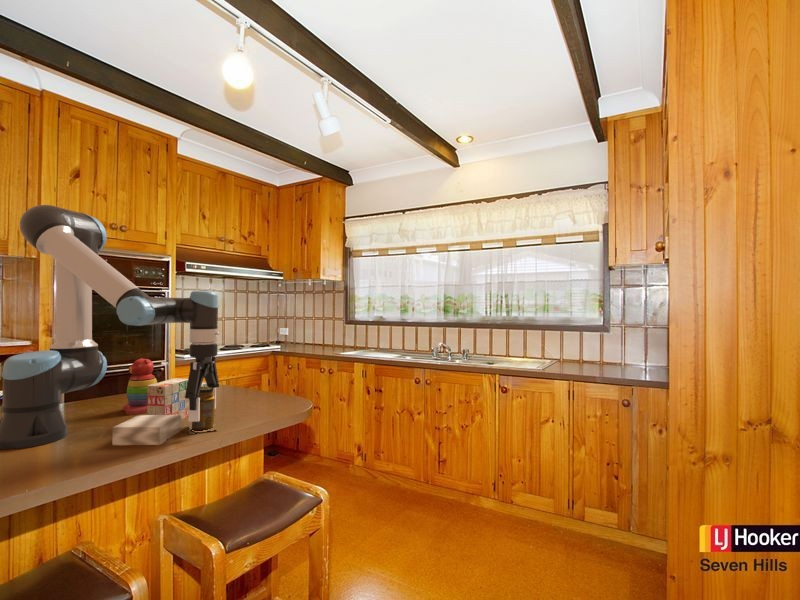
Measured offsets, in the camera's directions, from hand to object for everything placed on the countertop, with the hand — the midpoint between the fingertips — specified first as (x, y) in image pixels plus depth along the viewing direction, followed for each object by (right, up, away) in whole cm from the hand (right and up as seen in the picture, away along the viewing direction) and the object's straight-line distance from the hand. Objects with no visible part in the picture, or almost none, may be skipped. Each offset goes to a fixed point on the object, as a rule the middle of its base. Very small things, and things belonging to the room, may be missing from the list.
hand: (202, 414), depth 125 cm
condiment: (0, -4, 0) cm, 4 cm away
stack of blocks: (-14, -4, +14) cm, 20 cm away
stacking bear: (-31, -4, +21) cm, 38 cm away
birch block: (-11, -4, -8) cm, 15 cm away
